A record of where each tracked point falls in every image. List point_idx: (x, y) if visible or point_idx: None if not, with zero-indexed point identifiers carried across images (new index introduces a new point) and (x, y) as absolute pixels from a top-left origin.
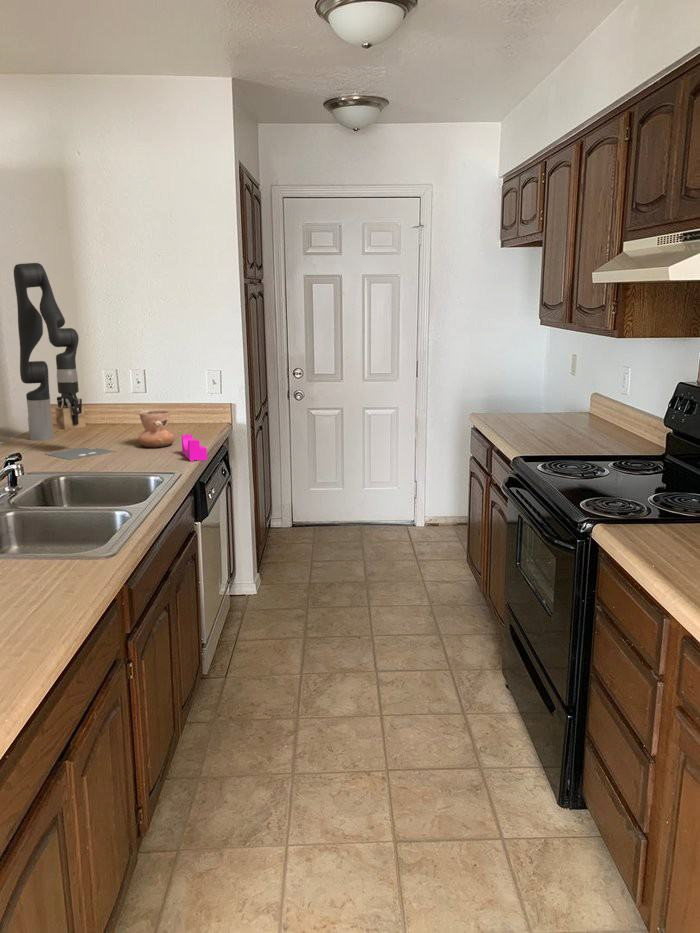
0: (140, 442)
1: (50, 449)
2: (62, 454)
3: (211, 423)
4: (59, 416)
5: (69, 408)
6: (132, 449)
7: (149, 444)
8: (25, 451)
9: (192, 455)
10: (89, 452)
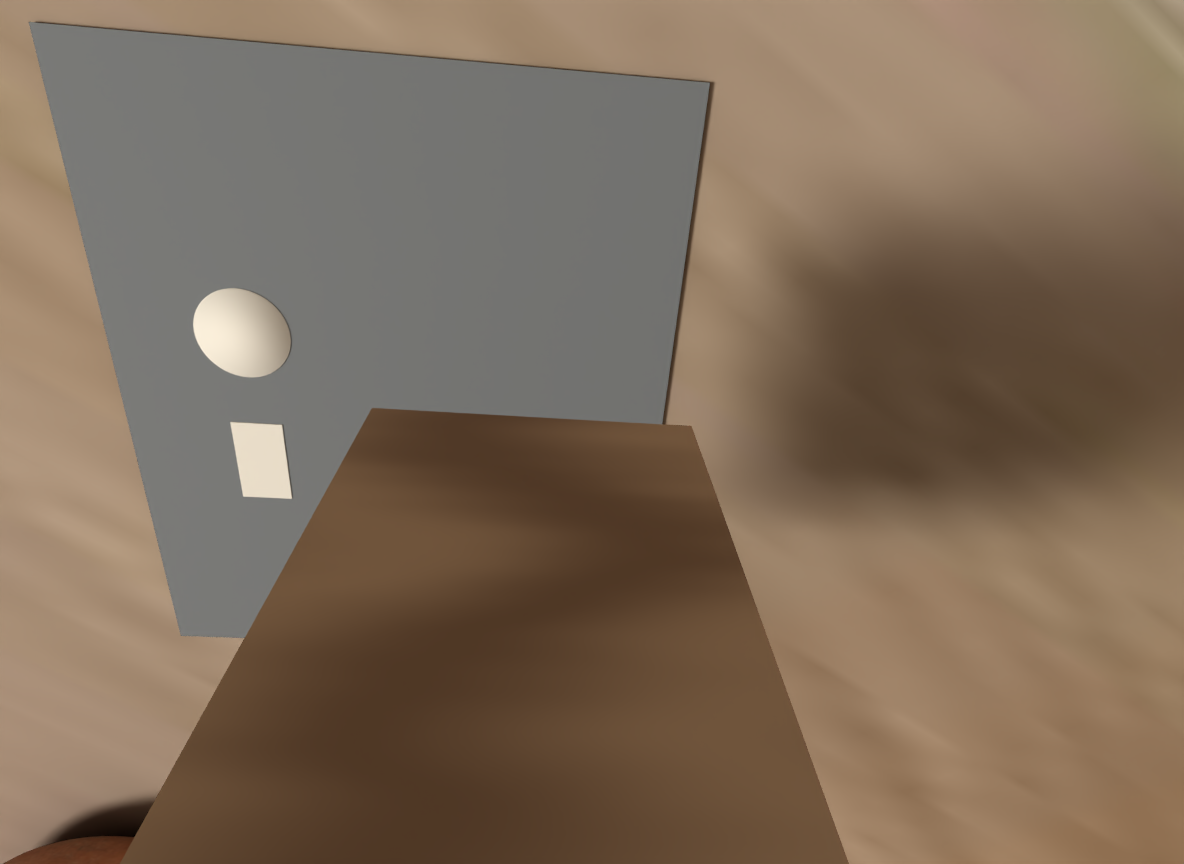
0: (119, 856)
1: (921, 354)
2: (472, 211)
3: None
4: (545, 614)
5: None
6: (165, 751)
7: (17, 857)
8: (1163, 75)
9: None
10: (322, 466)
